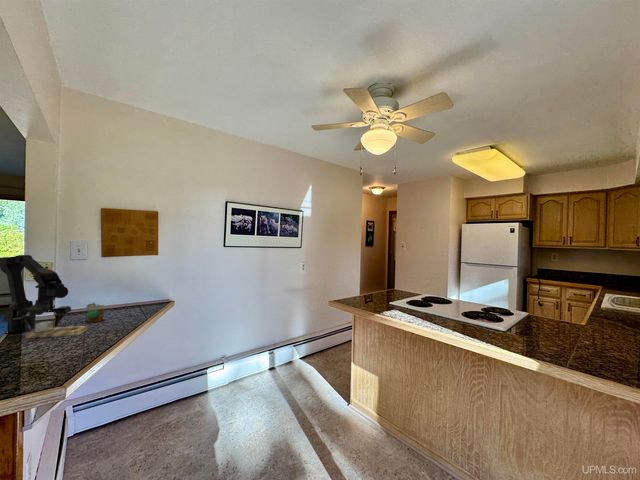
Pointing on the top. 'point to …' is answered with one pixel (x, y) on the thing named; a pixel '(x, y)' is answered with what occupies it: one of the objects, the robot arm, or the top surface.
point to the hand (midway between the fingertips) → (44, 327)
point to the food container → (95, 313)
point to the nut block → (44, 327)
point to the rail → (58, 332)
